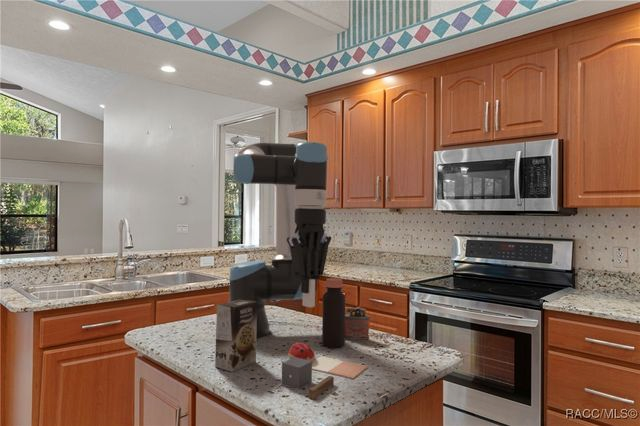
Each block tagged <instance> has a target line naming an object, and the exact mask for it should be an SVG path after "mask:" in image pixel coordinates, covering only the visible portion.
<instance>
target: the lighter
mask: <svg viewBox="0 0 640 426" xmlns="http://www.w3.org/2000/svg"><path fill="white" fill-rule="evenodd" d="M346 313H347V314H346ZM348 313H349V314H348ZM353 313H354V314H353ZM366 313H367V312H366V309H365V308H361V307H359V306H357V307H355V308H354V307H345V341H354V342H355V341H356V342H358V341H359V342H368V341H369V340H370V336H369V335H370V334H369V333H370V332H369V330H370V329H369V327H370V325H369V324H370V315H368V314H366Z"/></svg>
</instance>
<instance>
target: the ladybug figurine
mask: <svg viewBox="0 0 640 426" xmlns="http://www.w3.org/2000/svg"><path fill="white" fill-rule="evenodd" d="M287 355H288V358H289V357H290V358H291V359H292V358H294V357H297V358H301V359H305V360H309V361H314V359H315V355H316V354H315V352H314V351H313V349H312V347H310V345H308V344H306V343H303V342H295V343H294V344H293V345H292V346H291V347H290V349H289V350H288V354H287Z"/></svg>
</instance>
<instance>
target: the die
mask: <svg viewBox="0 0 640 426" xmlns="http://www.w3.org/2000/svg"><path fill="white" fill-rule="evenodd" d="M312 376H313V370H312V361H309V360H305V359H301V358H297V357H294V358H292V359H290V360H287V361H285V362H283V363H282V362H281V385H283V386H287V387H288V388H293V389H295V390H301V389H302V388H304V387H306V386H308V385H310V384H311V383H312V382H313V379H312V378H313V377H312Z"/></svg>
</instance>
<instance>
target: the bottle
mask: <svg viewBox="0 0 640 426" xmlns="http://www.w3.org/2000/svg"><path fill="white" fill-rule="evenodd" d="M325 289H326V292H325V293H324V294H323V295H322V323H321V324H322V326H321V329H322V330H321V336H322V337H321V346H322V347H324V348H327V349H331V350H338V349H342V348H344V347H345V346H346V345H345V343H346V340H345V315H346V295H345V294H344V293H343V292H342V289H343V279H342V278H337V277H336V278H335V277H329V278H326V281H325Z"/></svg>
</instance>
